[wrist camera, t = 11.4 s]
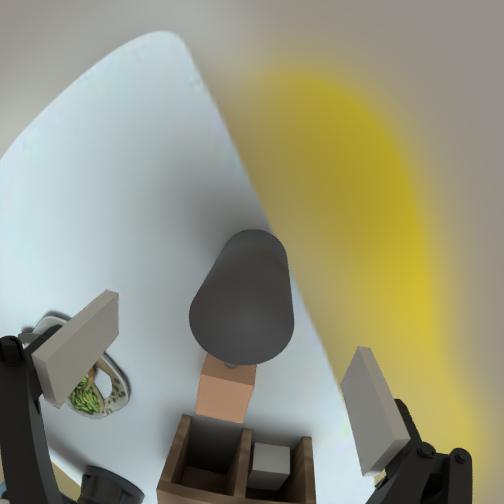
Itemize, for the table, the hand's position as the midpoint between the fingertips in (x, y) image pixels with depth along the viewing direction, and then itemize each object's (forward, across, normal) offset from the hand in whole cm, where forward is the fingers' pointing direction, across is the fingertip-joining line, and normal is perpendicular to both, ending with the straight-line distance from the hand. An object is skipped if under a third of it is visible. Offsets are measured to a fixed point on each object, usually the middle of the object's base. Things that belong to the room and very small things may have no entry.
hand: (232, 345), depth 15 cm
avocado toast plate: (+14, -22, -22) cm, 33 cm away
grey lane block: (+13, +8, -28) cm, 33 cm away
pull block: (+13, 0, -6) cm, 14 cm away
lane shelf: (+13, +4, -30) cm, 34 cm away
